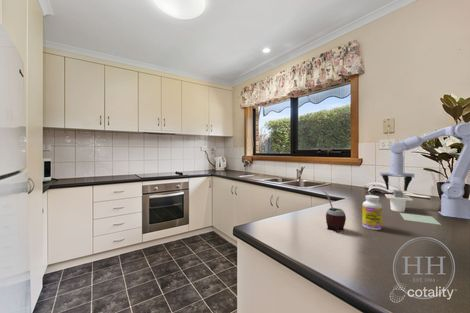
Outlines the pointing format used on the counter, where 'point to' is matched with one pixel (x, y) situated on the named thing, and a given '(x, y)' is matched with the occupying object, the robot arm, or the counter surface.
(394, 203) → the shot glass
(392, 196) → the lid
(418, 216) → the mat
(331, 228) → the mate gourd
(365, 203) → the supplement bottle
